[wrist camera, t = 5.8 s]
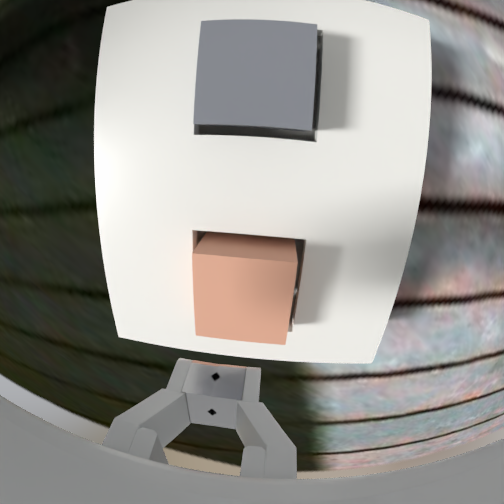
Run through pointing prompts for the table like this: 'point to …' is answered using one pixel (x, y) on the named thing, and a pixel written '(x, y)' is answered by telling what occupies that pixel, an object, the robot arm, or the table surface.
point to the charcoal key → (256, 74)
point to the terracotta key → (243, 286)
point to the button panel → (262, 172)
